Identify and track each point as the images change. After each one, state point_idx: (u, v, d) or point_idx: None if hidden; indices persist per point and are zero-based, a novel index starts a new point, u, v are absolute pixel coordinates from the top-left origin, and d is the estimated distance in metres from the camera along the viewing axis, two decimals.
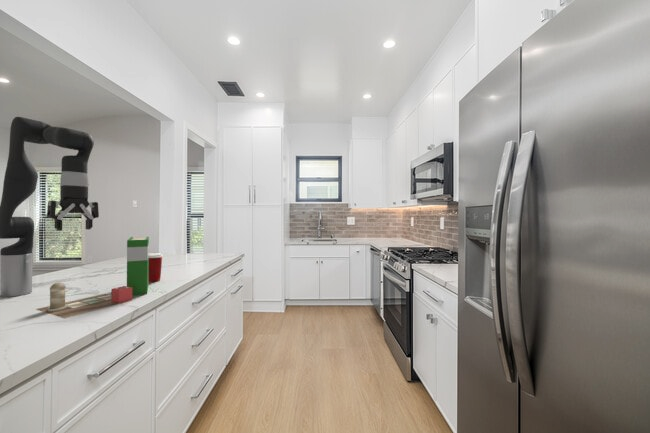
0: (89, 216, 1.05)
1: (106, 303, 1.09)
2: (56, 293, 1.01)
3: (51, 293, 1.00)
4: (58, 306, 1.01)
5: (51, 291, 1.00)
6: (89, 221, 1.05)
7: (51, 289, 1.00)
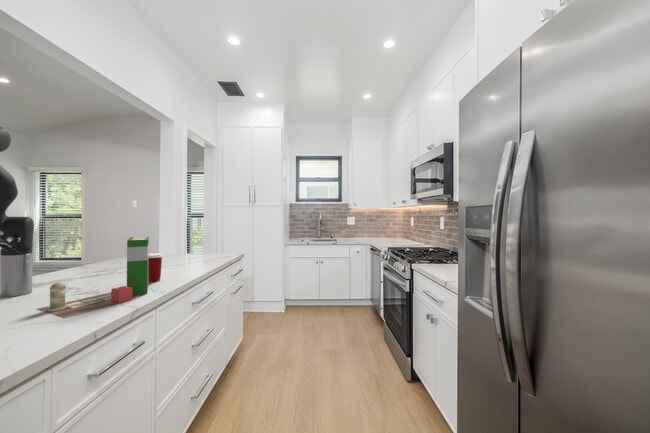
0: (6, 244, 0.87)
1: (106, 303, 1.09)
2: (56, 293, 1.01)
3: (51, 293, 1.00)
4: (58, 306, 1.01)
5: (51, 291, 1.00)
6: None
7: (51, 289, 1.00)
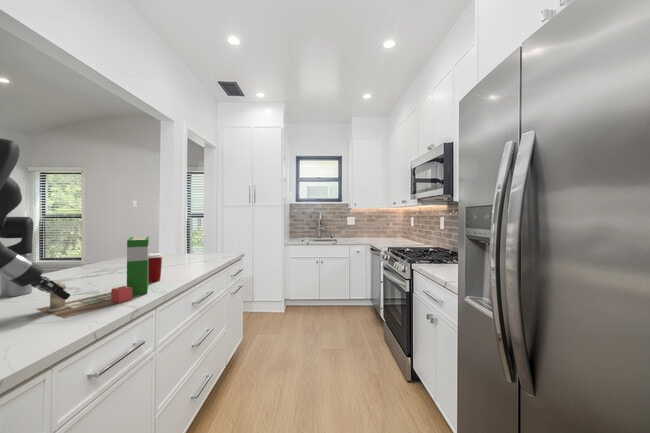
0: (52, 292, 0.99)
1: (106, 303, 1.09)
2: None
3: (51, 293, 1.00)
4: (58, 306, 1.01)
5: None
6: None
7: None
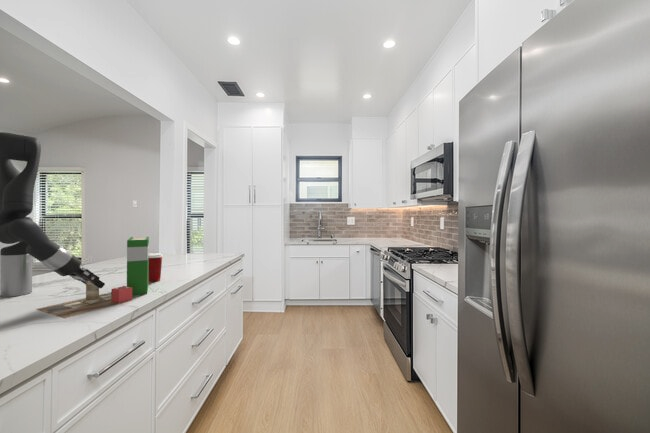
0: (90, 281, 1.08)
1: (106, 303, 1.09)
2: (92, 286, 1.11)
3: (87, 286, 1.10)
4: (93, 298, 1.11)
5: (87, 284, 1.10)
6: (94, 284, 1.09)
7: (87, 282, 1.10)
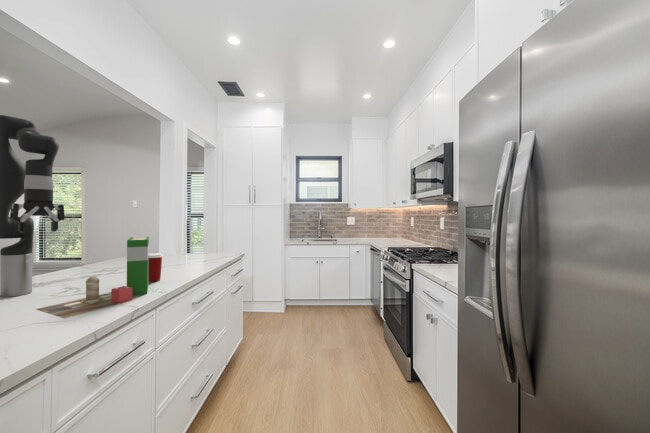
0: (54, 218, 1.07)
1: (106, 303, 1.09)
2: (92, 286, 1.11)
3: (87, 286, 1.10)
4: (93, 298, 1.11)
5: (87, 284, 1.10)
6: (54, 223, 1.07)
7: (87, 282, 1.10)
